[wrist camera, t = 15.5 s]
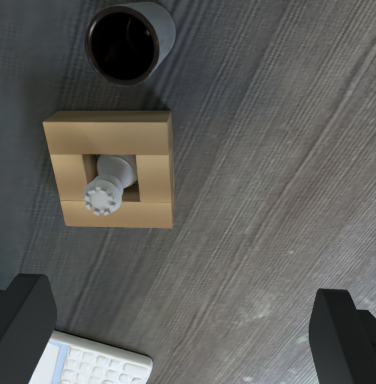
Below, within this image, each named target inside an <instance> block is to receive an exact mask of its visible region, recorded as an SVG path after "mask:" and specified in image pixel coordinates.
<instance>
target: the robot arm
mask: <svg viewBox="0 0 376 384" xmlns="http://www.w3.org/2000/svg"><path fill="white" fill-rule="evenodd" d="M56 321H57V308H56V304H55V301H54V297H53V294H52V290H51V287H50V283H49V280H48V277H47V276H46V275H44V274H22V273H20V274H18V275H17V276H16V277H15V278H14V279H13V281H12V282H11V284H10V285H9V286H8V288H7V289H6V291H2V290H0V384H29V381H30V379H31V377H32V375H33V373H34V371H35V369H36V367H37V365H38V363H39V360H40V358H41V356H42V354H43V352H44V350H45V348H46V346H47V344H48V342H49V339H50V337H51V335H52V333H53V331H54V329H55V325H56ZM309 343H310V348H311V352H312V356H313V360H314V364H315V368H316V372H317V376H318V380H319V384H376V318H375V317H374V316H373V315H372V314H371V313H370V312H369V311H368V310H356V307H355V305H354V302H353V300H352V298H351V295H350V293H349V292H348V291H347V290H342V289H321V288H319V289H318V291H317V293H316V298H315V302H314V306H313V310H312V314H311V318H310V323H309Z"/></svg>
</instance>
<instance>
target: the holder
mask: <svg viewBox="0 0 376 384" xmlns="http://www.w3.org/2000/svg"><path fill="white" fill-rule="evenodd" d="M43 126H44V130H45V135H46V139H47V144H48V148H49V153H50V156H51V161H52V165H53V170H54V174H55V178H56V183H57V187H58V192H59V196H60V202H61V206H62V211H63V215H64V219H65V224H66V226H92V227H138V228H173V222H174V217H175V212H176V202H175V179H174V156H173V133H172V111H57V112H56V113H54V114H53V115H52V116H50V117H49V118H48V119H46V120H45V121H44V122H43ZM95 154H131V155H136V164H137V174H138V184H139V185H131V186H129V187H126V188H123V194H122V196H121V197H122V202H121V205H120V207H119V208H118V209H117V210H116V211H114V212H111V213H110V214H108V215H104V213H100V214H99V215H96V214H93V213H94V210H93V209H92V208H91V209H89V210H88V209H87V207H86V206H85V205H86V201H85V200H84V194H83V193H84V189H85V187H86V186H87V185H88V184H89V183H90V182H92V181H93V180H94V179H95V178H96V177H97V176H99V175H98V171H97V162H96V156H95Z"/></svg>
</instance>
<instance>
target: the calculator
mask: <svg viewBox="0 0 376 384" xmlns="http://www.w3.org/2000/svg"><path fill="white" fill-rule="evenodd" d="M152 366H153V362H152V360H151V359H150V358H149V357H147V356H144V355H140V354H137V353H133V352H130V351H126V350H123V349H119V348H116V347H112V346H108V345H105V344H101V343H98V342H94V341H91V340H87V339H83V338H80V337H76V336H73V335H69V334H66V333H62V332H59V331H55V330H54V331H53V333H52V335H51V337H50V339H49V342H48V344H47V346H46V348H45V350H44V352H43V354H42V356H41V358H40V360H39V363H38V365H37V367H36V369H35V371H34V373H33V375H32V377H31V379H30V381H29V384H146V382H147V380H148V378H149V375H150V373H151V371H152Z"/></svg>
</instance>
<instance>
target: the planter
mask: <svg viewBox="0 0 376 384" xmlns="http://www.w3.org/2000/svg"><path fill="white" fill-rule="evenodd" d="M175 37H176V28H175V24H174V21H173V18H172V17H171V15H170V13H169V12H168V11H167V10H166V9H165V8H164V7H162V6H161V5H159V4H157V3H153V2H137V3H128V4H119V5H112V6H109V7H106V8H104V9H102V10H100V11H99V12H98V13H96V14H95V15H94V16H93V18H92V19H91V21H90V22H89V24H88V26H87V29H86V33H85V51H86V55H87V58H88V60H89V62H90V64H91V66H92V68H93V69H94V70H95V72H96V73H97V74H98V75H99V76H100V77H102V78H103V79H104V80H106V81H107V82H109V83H111V84H114V85H117V86H124V87H128V86H134V85H138V84H140V83H142V82H144V81H145V80H146V79H148V78H149V77H150V76H151V75H152V73H153V72H154V71H155V70H156V68H157V67H158V66H159V65H160V63H161V62H162V61H163V59H164V58H165V57H166V56H167V54H168V53H169V52H170V50H171V49H172V47H173V44H174V42H175Z"/></svg>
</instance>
